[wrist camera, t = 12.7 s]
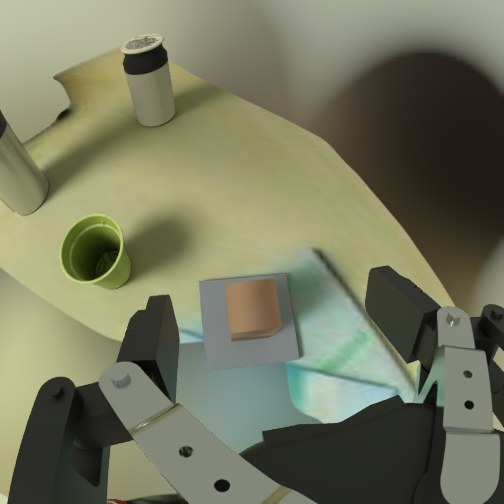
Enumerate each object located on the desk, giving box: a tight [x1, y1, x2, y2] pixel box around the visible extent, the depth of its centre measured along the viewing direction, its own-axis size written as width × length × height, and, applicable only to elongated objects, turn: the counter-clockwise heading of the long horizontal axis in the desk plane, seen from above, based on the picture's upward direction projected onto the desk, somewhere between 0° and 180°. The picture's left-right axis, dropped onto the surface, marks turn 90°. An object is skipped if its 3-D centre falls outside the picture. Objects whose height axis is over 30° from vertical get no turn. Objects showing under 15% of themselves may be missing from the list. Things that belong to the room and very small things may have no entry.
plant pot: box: [60, 213, 131, 289], centre depth 36 cm, size 9×9×9 cm
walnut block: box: [225, 278, 282, 342], centre depth 33 cm, size 5×5×10 cm
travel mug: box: [121, 34, 175, 127], centre depth 44 cm, size 8×8×18 cm
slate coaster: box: [199, 273, 299, 370], centre depth 38 cm, size 12×12×1 cm
